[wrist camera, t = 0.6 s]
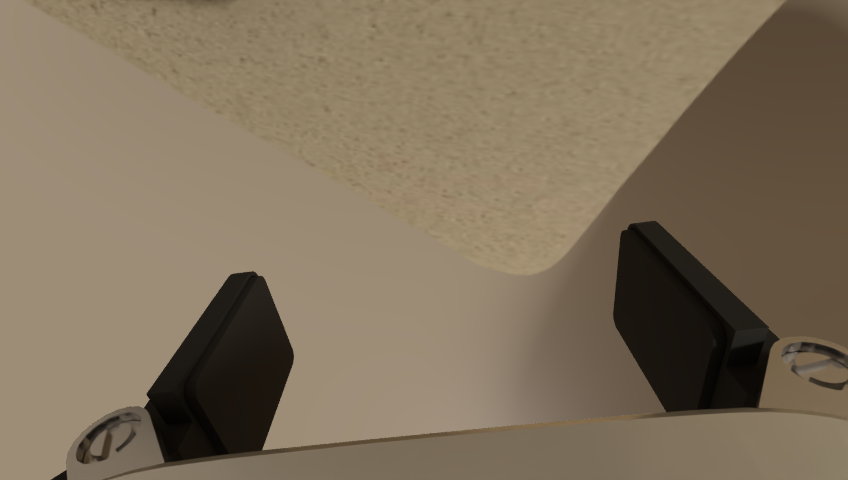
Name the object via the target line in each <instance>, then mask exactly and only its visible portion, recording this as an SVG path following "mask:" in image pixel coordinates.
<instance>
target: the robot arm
mask: <svg viewBox="0 0 848 480" xmlns="http://www.w3.org/2000/svg"><path fill="white" fill-rule="evenodd" d="M613 317H614V322H615V326H616V328H617V330H618V331H619V333H620V335H621V336H622V338H623V340H624V341H625V343H626V345H627V346H628V348H629V350H630V351H631V353H632V355H633V357H634V358H635V360H636V362H637V363H638V365H639V367H640V368H641V370H642V372H643V373H644V375H645V377H646V378H647V380H648V382H649V383H650V385H651V387H652V388H653V390H654V392H655V394H656V395H657V397H658V399H659V400H660V402H661V404H662V405H663V407H664V409H665V410H666V412H663V413H651V414H638V415H624V416H613V417H602V418H591V419H581V420H569V421H558V422H548V423H537V424H526V425H514V426H503V427H493V428H483V429H472V430H462V431H452V432H441V433H430V434H421V435H410V436H400V437H391V438H390V437H389V438H379V439H370V440H359V441H350V442H340V443H330V444H320V445H311V446H301V447H291V448H282V449H272V450H262V449H263V446H264V443H265V440H266V438H267V435H268V432H269V429H270V426H271V423H272V421H273V418H274V415H275V412H276V410H277V407H278V404H279V401H280V398H281V396H282V393H283V390H284V387H285V384H286V382H287V378H288V376H289V373H290V370H291V368H292V365H293V360H294V354H293V349H292V347H291V344H290V342H289V339H288V336H287V334H286V332H285V329H284V326H283V324H282V321H281V319H280V316H279V314H278V312H277V309H276V307H275V304H274V301H273V299H272V296H271V294H270V291H269V289H268V286H267V283H266V281H265V279H264V278H263V277H262V276H258V275H257V274H256V273H255V272H253V271H252V272H244V273H236V274H231V275H230V276H229V277H228V279H227V280H226V281H225V283H224V284H223V286H222V287H221V289H220V290H219V292H218V293H217V294H216V296H215V297H214V299H213V300H212V301H211V303H210V304H209V306H208V307H207V309H206V310H205V311H204V313H203V314H202V316H201V317H200V318H199V320H198V321H197V323H196V324H195V326H194V327H193V329H192V330H191V331H190V333H189V334H188V336H187V337H186V338H185V340H184V341H183V343H182V344H181V346H180V347H179V349H178V350H177V351H176V353H175V354H174V356H173V357H172V358H171V360H170V361H169V363H168V364H167V366H166V367H165V368H164V370H163V371H162V373H161V374H160V376H159V377H158V378H157V380H156V381H155V383H154V384H153V386H152V387H151V388H150V390H149V391H148V393H147V396H148V397H149V399H150V400H149V401H148V403H147V404H146V406H145V407H144V408H142V407H139V406H136V407H126V408H122V409H119V410H116V411H114V412H112V413H110V414H107V415H105V416H104V417H102V418H101V419H99V420H97V421H96V422H94V423H93V424H92V425H91V426H89V427H88V428H87V429H86V430H85V431H83V432H82V433H81V435H80V436H79V437H78V438H77V439H76V440H75V441H74V443H73V444H72V446H71V448H70V450H69V452H68V454H67V460H66V467H67V470H66V471H64V472H63V473H61V474H59V475H58V476H56V477H54V478H53V479H52V480H848V349H846V348H844V347H842V346H840V345H837V344H834V343H831V342H829V341H826V340H822V339H817V338H812V337H800V336H793V337H787V338H782V339H779V338H778V337H777V336H776V335H775V334H774V333H772V332H771V331H770V330H769V329H768V328H769V327H768V326H767V325H766V324H765V323H764V322H763V321H762V320H761V319H759V318H758V317H757V316H756V315H755V314H754V313H753V312H752V311H751V310H750V309H749V308H748V307H747V306H746V305H745V304H744V303H743V302H741V301H740V300H739V299H738V298H737V297H736V296H735V295H734V294H733V293H732V292H731V291H730V290H729V289H728V288H727V287H726V286H724V285H723V284H722V283H721V282H720V281H719V280H718V279H717V278H716V277H715V276H714V275H713V274H712V273H711V272H710V271H709V270H708V269H706V268H705V267H704V266H703V265H702V264H701V263H700V262H699V261H698V260H697V259H696V258H695V257H694V256H693V255H691V253H689V252H688V251H687V250H686V249H685V248H684V247H683V246H682V245H681V244H680V243H679V242H678V241H677V240H676V239H674V237H672V236H671V235H670V234H669V233H668V232H667V231H666V230H665V229H664V228H663V227H662V226H661V225H660V224H659V223H657V222H656V221H650V222H643V223H634V224H630V225H629V227H628V230H624V231H622V233H621V237H620V248H619V259H618V269H617V281H616V290H615V301H614V312H613Z"/></svg>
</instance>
